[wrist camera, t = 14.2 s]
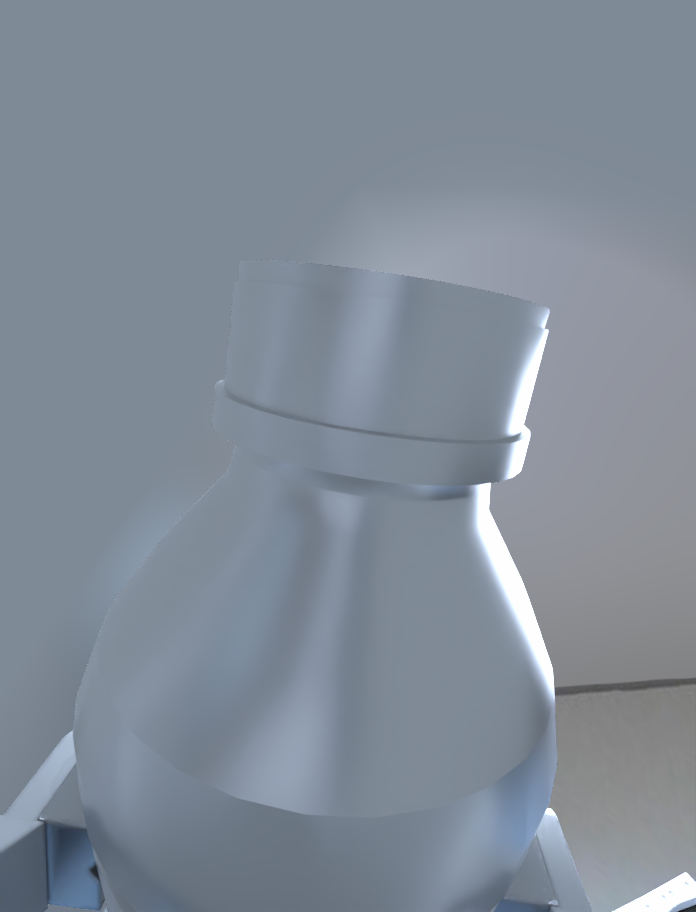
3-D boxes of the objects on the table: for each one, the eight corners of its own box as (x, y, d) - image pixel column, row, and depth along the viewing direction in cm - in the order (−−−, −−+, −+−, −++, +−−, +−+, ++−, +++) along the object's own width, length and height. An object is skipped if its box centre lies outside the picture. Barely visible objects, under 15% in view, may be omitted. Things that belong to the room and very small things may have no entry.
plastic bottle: (448, 1296, 10) (842, 352, 5) (88, 1764, 7) (104, 105, 1) (313, 951, 15) (432, 315, 10) (72, 1106, 12) (61, 245, 6)
